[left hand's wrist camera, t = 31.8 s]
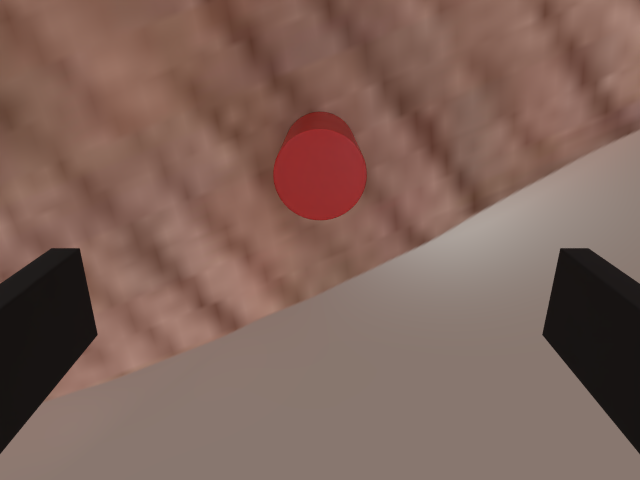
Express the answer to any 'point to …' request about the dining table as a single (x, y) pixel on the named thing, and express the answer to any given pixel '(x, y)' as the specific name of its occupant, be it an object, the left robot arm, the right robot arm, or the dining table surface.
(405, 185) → the dining table surface
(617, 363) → the left robot arm
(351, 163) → the can
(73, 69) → the dining table surface
